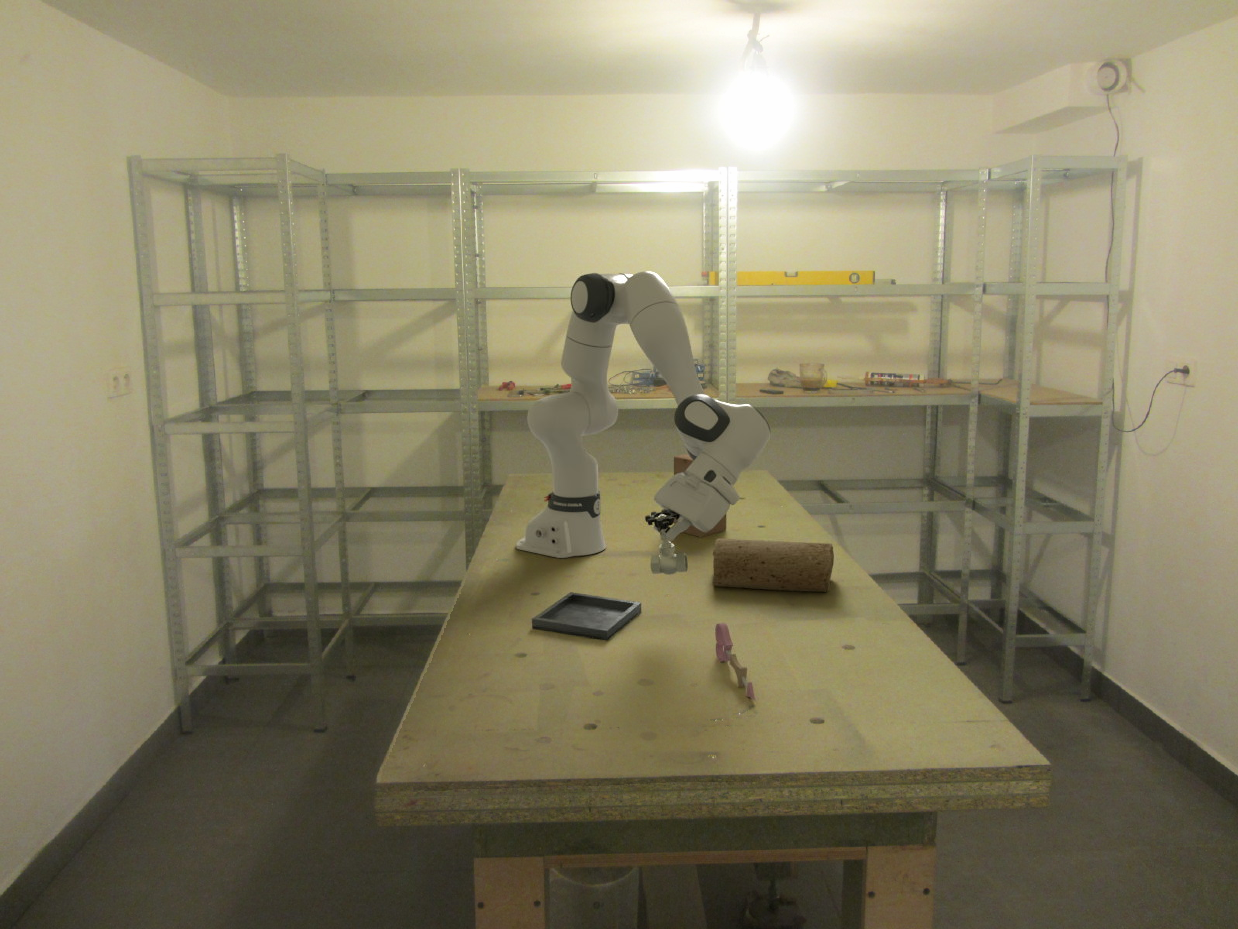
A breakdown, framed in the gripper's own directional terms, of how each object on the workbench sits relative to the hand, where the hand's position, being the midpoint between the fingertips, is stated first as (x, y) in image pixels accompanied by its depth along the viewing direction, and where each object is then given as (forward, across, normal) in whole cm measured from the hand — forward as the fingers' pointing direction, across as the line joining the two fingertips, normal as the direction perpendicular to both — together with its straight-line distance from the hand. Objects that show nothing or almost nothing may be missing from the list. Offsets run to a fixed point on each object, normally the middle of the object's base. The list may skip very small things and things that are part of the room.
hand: (662, 534), depth 172 cm
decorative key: (+12, +27, +14) cm, 32 cm away
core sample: (-9, -12, +35) cm, 38 cm away
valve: (+5, 0, +7) cm, 8 cm away
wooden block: (-12, -56, +38) cm, 69 cm away
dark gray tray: (+22, -8, +4) cm, 23 cm away
